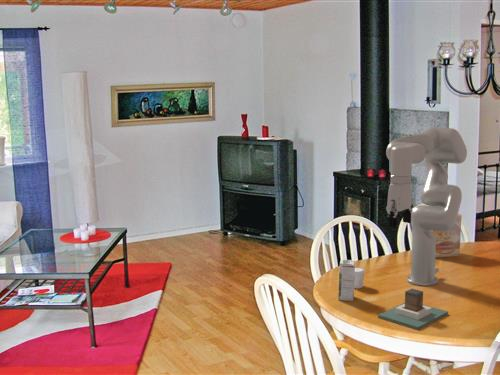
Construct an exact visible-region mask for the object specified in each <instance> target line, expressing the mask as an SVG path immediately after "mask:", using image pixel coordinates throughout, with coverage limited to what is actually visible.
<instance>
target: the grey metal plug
mask: <svg viewBox="0 0 500 375" xmlns="http://www.w3.org/2000/svg"><path fill="white" fill-rule="evenodd" d="M404 303H405V309H407V310H411V311H414V312H418V311H420V310H422V309H423V305H424V291H422V290H419V289H415V288H410V289H408V290H405V292H404Z"/></svg>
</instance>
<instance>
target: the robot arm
mask: <svg viewBox="0 0 500 375" xmlns="http://www.w3.org/2000/svg"><path fill="white" fill-rule="evenodd" d="M385 155H386V156H385V157H386V158H387V159H388V161H390V175H389V176H390V182H389V183H390V184H389V186H388V192H387V201H386V203H387V204H386V207H385V210H386V214H387V218H388V224H387V225H388V228H391V229H397V228H398V217H397V216H398V213H399V212H402V222H403V223H406V224H411V232H412V233H411V234H412V235H411V240H412V241H411V262H410V264H411V265H410V274H409V275H407V277H406V281H407V282H408V283H410V284H412V285H415V286H422V287H424V286H427V287H429V286H435V285H437V284H438V283H439V277H437V276H436V275H437V273H439V272H440V269H439V268H437V267H436V258H437V257H436V238H435V235H434V234H433V232H432V230H434V231H442V232H449V231H451V230H452V229H453V228H454V225H455V222H456V218H457V215H458V214H459V210H460V208H461V203H462V197H463V195H462V189H461V188H460V187H459V186H457V185H456V184H455V185H454V184H448V179H449V174H448V172H447V170H446V169H445V167H444V166H443V165H442V163H445V164H462V163H464V162H465V161H466V159H467V156H468V151H467V146H466V144H465V141H464V140H463V136H461V134H460V133H459V131H458V130H457V129H455V128H452V127H451V128H449V127H430V128H426V129H425V130H424V131H422V132H419V133H418V134H412V135H407V136H403V137H397V138H396V139H394V140H391V141H390V142H389V144H388V145H387V147H386V150H385ZM423 161H424V162H425V166H426V177H425V180H424V184H423V188H422V190H421V193H420V194H421V195H420V200H421V203H422V204H423V205H422V204H421V205H419V204H418V205H416V206H414V202H415V198H413V190H412V177H413V176H412V175H413V174H412V171H413V168H412V167H413V165H414V164H416V165H417V164H421V163H422V162H423Z"/></svg>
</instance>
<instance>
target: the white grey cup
mask: <svg viewBox="0 0 500 375" xmlns="http://www.w3.org/2000/svg"><path fill="white" fill-rule="evenodd" d="M365 271H366V270H365V269H364V268H362V267H356V266H355V277H354V289H355V288H356V289H361V288H363V287H364V280H365Z"/></svg>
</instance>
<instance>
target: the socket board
mask: <svg viewBox="0 0 500 375" xmlns="http://www.w3.org/2000/svg"><path fill="white" fill-rule="evenodd" d="M447 315H449V311H448V310H444V309H441V308H437V307H433V306H429V305H426V304H423V309H422V310H420V311H418V312H414V311H411V310H407V309H405V302H404V303H401V304H399V305H396V306H394V307H392V308H390V309H388V310H386V311H384V312H381V313H380V314H377V318H379V319H382V320H385V321H387V322H391V323H395V324H398V325H401V326H404V327H408V328H410V329H415V330H417V331H418V330H420V329H422V328H424V327H427V326H428V325H430V324H432V323H434V322H436V321H437V320H440V319H442V318H443V317H446V316H447Z"/></svg>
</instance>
